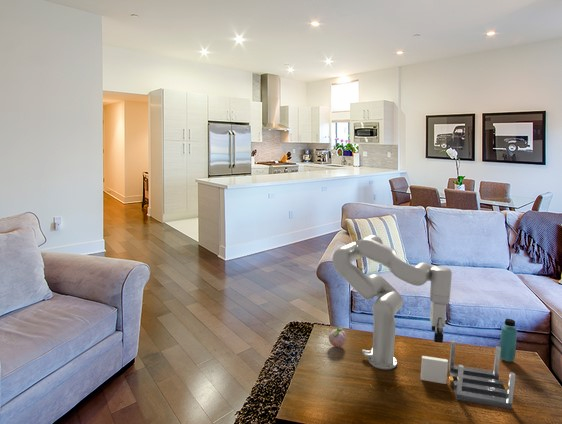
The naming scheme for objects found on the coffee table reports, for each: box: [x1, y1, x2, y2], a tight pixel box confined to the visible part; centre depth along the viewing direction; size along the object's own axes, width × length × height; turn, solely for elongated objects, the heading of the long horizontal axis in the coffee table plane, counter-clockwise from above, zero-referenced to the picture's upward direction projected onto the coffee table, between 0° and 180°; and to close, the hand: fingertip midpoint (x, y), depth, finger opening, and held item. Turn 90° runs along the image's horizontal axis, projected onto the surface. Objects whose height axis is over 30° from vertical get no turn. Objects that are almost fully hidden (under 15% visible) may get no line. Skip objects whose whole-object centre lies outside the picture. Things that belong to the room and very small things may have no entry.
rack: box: [448, 339, 516, 410], centre depth 151 cm, size 21×21×14 cm
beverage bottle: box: [498, 318, 518, 362], centre depth 170 cm, size 6×7×20 cm
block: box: [420, 355, 449, 385], centre depth 156 cm, size 10×2×10 cm, turn 73°
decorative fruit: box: [328, 327, 347, 348], centre depth 182 cm, size 9×8×10 cm
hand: (436, 336), depth 153 cm, fingers open, 9 cm apart
